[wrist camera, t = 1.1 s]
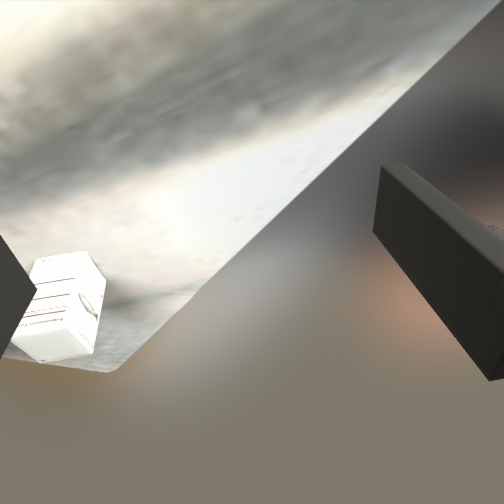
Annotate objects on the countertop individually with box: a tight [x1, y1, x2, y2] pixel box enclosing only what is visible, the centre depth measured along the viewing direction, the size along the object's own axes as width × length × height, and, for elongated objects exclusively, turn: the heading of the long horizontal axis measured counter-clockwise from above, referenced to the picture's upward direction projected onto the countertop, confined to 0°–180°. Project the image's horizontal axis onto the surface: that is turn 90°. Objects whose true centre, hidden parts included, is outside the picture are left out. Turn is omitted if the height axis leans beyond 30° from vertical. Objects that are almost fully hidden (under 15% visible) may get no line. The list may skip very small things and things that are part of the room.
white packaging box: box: [10, 251, 106, 363], centre depth 46 cm, size 7×7×13 cm
